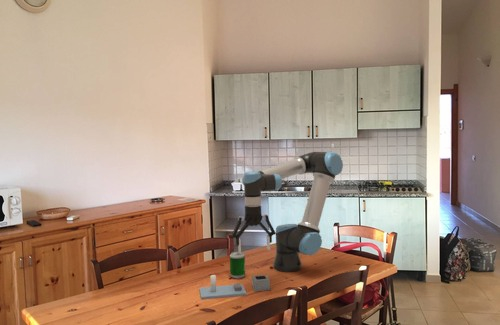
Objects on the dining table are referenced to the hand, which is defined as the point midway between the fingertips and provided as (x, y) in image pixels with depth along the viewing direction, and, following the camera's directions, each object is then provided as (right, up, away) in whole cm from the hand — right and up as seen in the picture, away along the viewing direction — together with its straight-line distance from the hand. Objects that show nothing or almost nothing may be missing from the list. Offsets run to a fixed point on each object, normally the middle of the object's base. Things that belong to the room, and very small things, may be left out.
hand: (254, 251), depth 196 cm
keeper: (-14, -18, -4) cm, 23 cm away
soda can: (-8, -17, +18) cm, 26 cm away
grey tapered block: (+3, -17, 0) cm, 18 cm away
